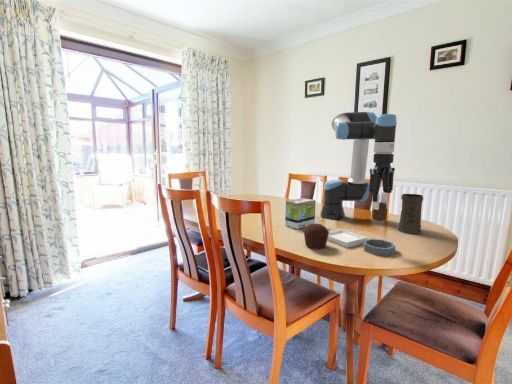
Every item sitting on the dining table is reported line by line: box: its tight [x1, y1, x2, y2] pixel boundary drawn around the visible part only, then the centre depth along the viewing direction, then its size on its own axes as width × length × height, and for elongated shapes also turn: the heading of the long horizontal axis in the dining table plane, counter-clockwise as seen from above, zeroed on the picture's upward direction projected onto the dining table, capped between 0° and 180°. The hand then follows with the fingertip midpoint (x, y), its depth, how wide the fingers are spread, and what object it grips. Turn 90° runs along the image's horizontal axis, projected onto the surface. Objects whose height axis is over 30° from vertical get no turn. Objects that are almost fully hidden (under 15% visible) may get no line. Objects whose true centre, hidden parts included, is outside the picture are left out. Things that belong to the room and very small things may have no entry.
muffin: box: [302, 223, 329, 250], centre depth 124 cm, size 12×11×10 cm
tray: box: [327, 228, 368, 249], centre depth 133 cm, size 16×14×2 cm
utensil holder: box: [371, 194, 388, 222], centre depth 117 cm, size 6×6×12 cm
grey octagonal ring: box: [362, 238, 396, 257], centre depth 120 cm, size 12×12×3 cm
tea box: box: [284, 197, 317, 230], centre depth 157 cm, size 15×10×15 cm, turn 131°
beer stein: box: [397, 193, 424, 235], centre depth 148 cm, size 15×11×20 cm
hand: (379, 208), depth 118 cm, fingers closed on utensil holder, 5 cm apart
